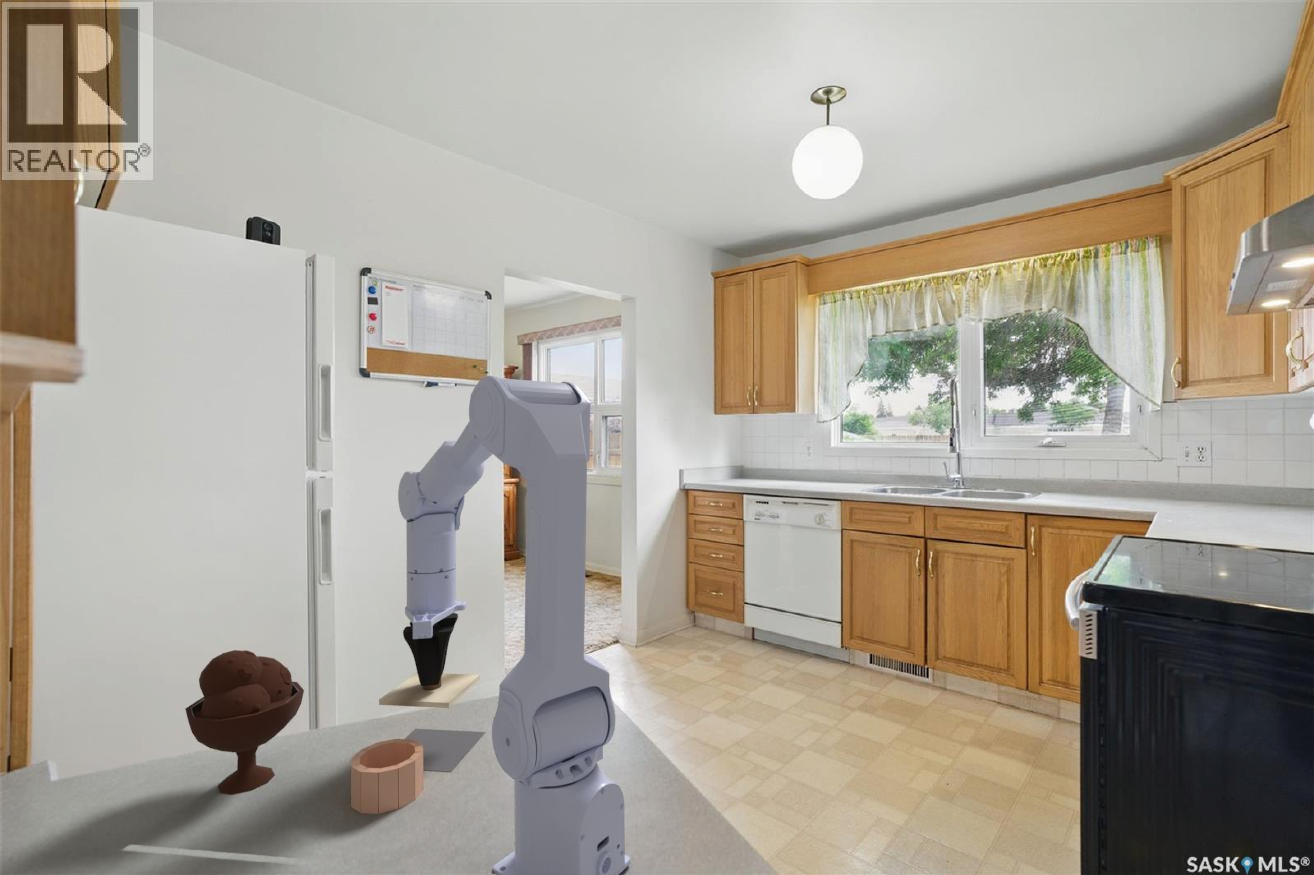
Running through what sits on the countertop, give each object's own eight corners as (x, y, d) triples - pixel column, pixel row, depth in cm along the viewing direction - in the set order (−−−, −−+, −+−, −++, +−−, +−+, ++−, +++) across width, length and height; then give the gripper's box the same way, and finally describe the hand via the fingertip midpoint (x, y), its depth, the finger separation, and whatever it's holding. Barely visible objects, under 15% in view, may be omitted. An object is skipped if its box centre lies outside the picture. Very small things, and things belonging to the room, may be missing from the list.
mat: (485, 735, 78) (485, 732, 78) (451, 775, 69) (451, 771, 69) (415, 731, 80) (415, 728, 80) (372, 770, 70) (372, 767, 70)
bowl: (436, 792, 66) (436, 750, 66) (374, 825, 60) (374, 779, 60) (399, 772, 70) (399, 733, 70) (338, 802, 64) (338, 759, 64)
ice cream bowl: (248, 818, 61) (247, 669, 61) (158, 806, 63) (158, 662, 64) (325, 764, 72) (324, 637, 72) (245, 755, 74) (245, 632, 74)
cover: (479, 679, 78) (479, 650, 78) (448, 708, 70) (448, 675, 70) (417, 677, 79) (416, 647, 79) (379, 704, 71) (379, 672, 71)
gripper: (459, 580, 68) (459, 700, 68) (470, 557, 83) (470, 657, 82) (392, 583, 67) (392, 707, 67) (415, 559, 81) (415, 661, 81)
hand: (431, 680), depth 74 cm, fingers closed on cover, 2 cm apart
